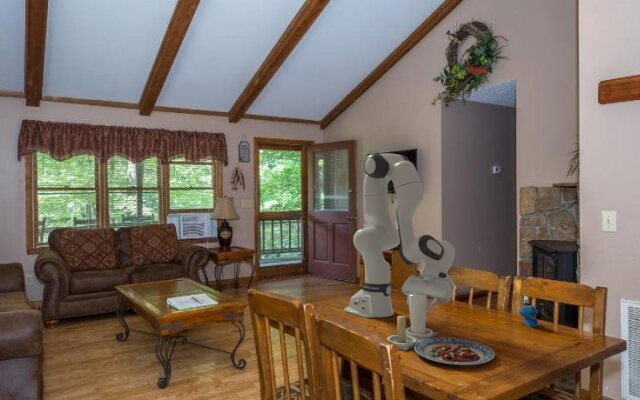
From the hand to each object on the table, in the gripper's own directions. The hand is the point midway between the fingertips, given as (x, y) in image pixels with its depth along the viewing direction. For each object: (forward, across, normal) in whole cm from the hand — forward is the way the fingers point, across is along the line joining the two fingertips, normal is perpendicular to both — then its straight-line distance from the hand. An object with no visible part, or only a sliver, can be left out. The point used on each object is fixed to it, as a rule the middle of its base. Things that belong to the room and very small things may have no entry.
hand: (418, 306), depth 177 cm
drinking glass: (+7, 0, +8) cm, 10 cm away
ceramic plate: (+15, +20, +1) cm, 25 cm away
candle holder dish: (+12, +1, +3) cm, 13 cm away
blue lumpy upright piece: (-22, +25, +38) cm, 51 cm away
